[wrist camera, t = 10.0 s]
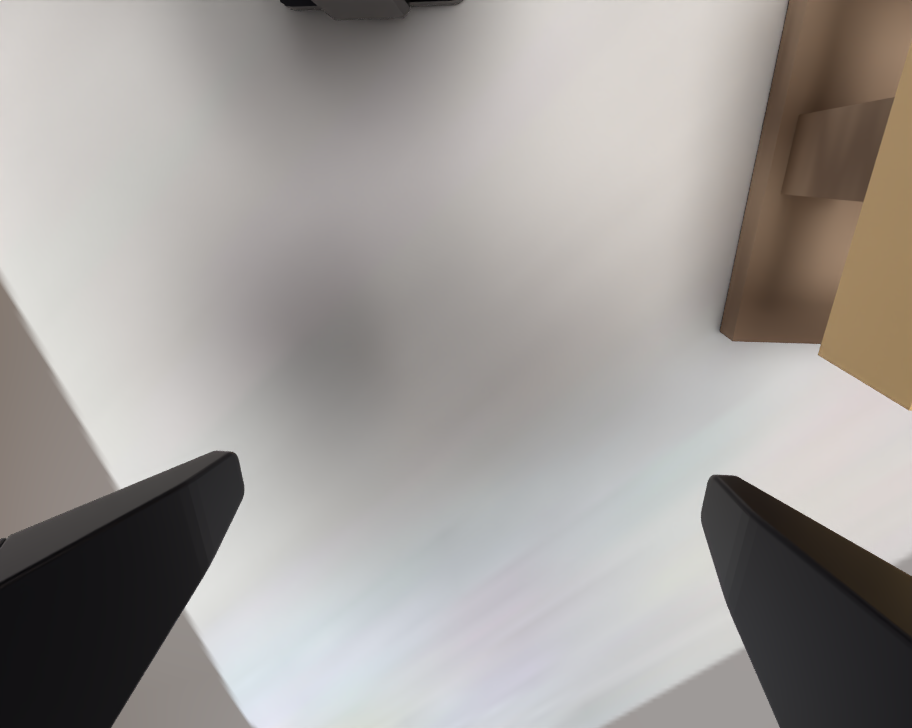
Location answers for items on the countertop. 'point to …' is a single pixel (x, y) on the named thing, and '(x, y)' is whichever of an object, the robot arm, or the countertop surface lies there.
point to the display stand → (814, 164)
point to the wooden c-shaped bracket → (880, 268)
